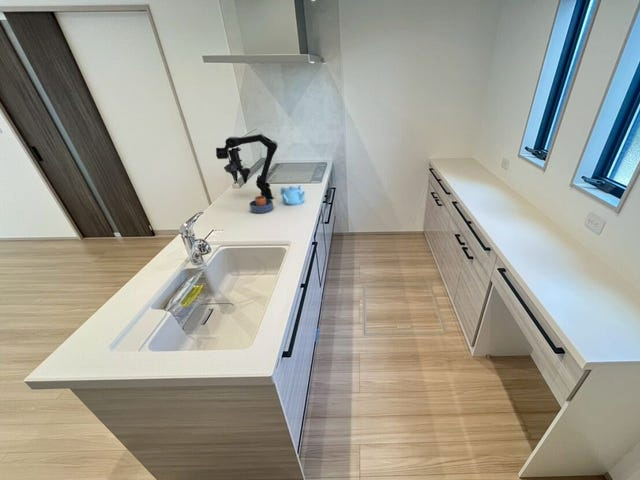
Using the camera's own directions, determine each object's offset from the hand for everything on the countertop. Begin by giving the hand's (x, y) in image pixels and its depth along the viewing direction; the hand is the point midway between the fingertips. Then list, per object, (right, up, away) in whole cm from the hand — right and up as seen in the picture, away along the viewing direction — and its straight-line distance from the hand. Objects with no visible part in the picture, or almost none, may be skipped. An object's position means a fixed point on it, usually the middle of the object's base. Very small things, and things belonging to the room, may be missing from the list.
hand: (240, 182), depth 208 cm
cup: (+18, -20, -10) cm, 29 cm away
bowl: (+18, -21, -10) cm, 29 cm away
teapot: (+36, -13, +1) cm, 38 cm away
